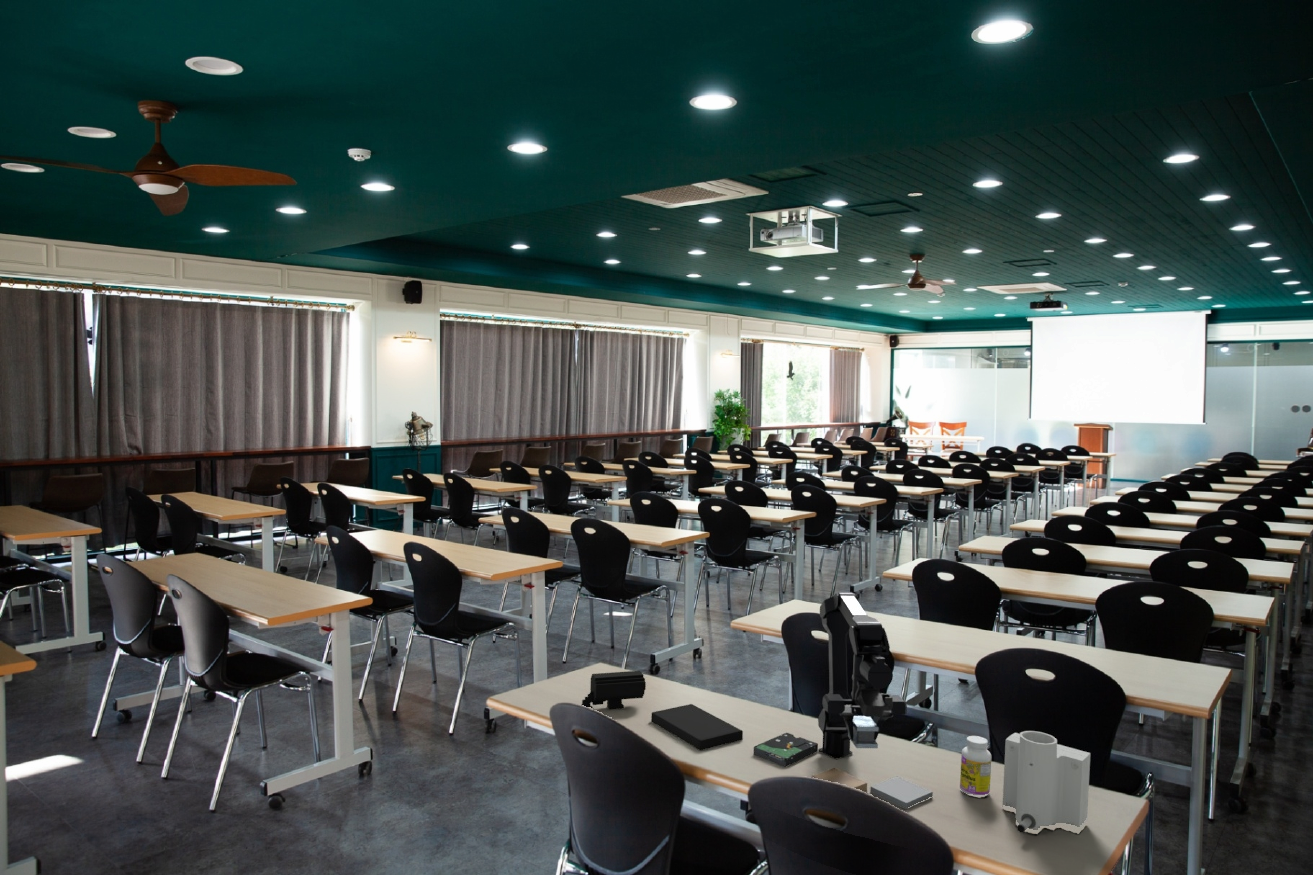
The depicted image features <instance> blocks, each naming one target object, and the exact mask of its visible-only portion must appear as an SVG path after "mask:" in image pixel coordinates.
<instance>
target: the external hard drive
mask: <svg viewBox="0 0 1313 875" xmlns="http://www.w3.org/2000/svg"><path fill="white" fill-rule="evenodd" d="M650 717H651V720H650V721H651V723H653V724H654V725H656V726H658V727H660V728H661V729H663V730H664V731H666V732H669V733H670V734H672V735H673V736H675V737H676V738H678V739H680V740H681V741H684V742H685V743H687V744H688V745H690V746H691V747H693V748H695V749H697V750H698V751H704V750H710V749H712V748H716V747H720V746H724V745H728V744H732V743H736V742H740V741H743V739H744V738H743V736H744V734H743V733H744V731H743V730H742V729H740V728H738V727H736V726H734V725H732V724H731V723H728V722H727V721H725V720H723V719H721V718H719V717H717V716H716V715H713V714H712V713H710V712H707V711H706V710H704V709H703V708H700V707H698V706H696V705H695V704H692V703H689V704H685V705H681V706H680V705H679V706H675V707H671V708H666V709H661V710H656V711H651V716H650Z"/></svg>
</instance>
